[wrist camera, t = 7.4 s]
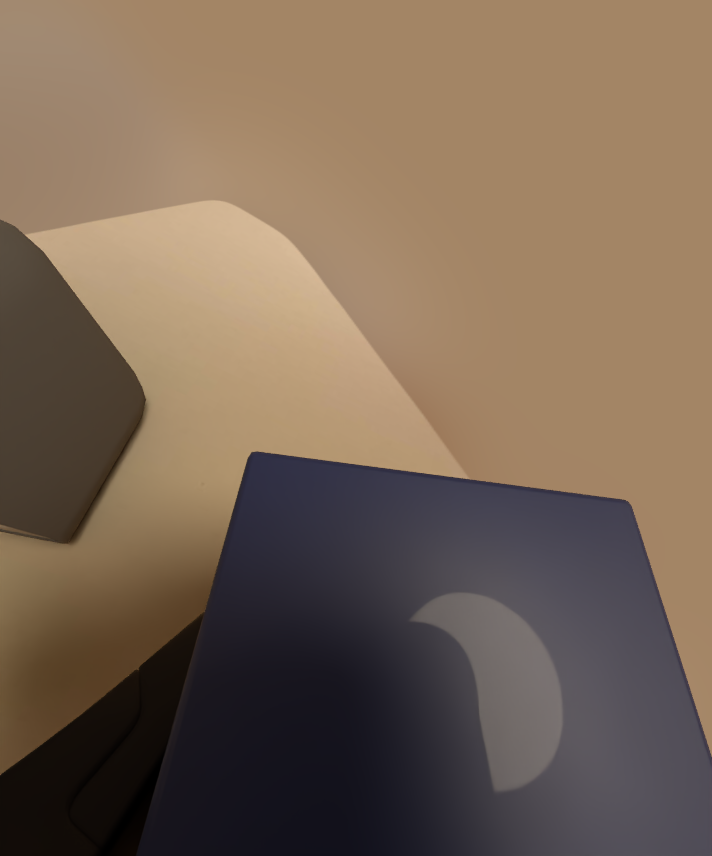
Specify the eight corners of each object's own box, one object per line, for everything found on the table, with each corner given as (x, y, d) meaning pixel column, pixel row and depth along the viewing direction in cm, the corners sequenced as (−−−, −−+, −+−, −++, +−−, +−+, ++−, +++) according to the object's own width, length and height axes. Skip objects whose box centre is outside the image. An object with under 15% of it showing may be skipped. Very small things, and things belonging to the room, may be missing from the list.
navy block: (400, 719, 12) (911, 1354, 2) (274, 706, 12) (-10, 1345, 2) (403, 581, 14) (633, 498, 4) (297, 569, 14) (247, 447, 4)
